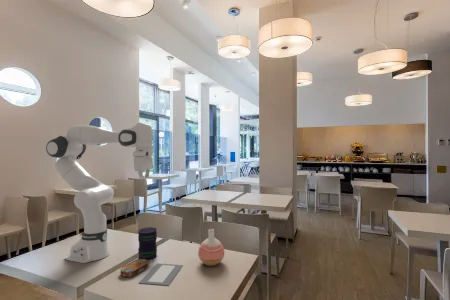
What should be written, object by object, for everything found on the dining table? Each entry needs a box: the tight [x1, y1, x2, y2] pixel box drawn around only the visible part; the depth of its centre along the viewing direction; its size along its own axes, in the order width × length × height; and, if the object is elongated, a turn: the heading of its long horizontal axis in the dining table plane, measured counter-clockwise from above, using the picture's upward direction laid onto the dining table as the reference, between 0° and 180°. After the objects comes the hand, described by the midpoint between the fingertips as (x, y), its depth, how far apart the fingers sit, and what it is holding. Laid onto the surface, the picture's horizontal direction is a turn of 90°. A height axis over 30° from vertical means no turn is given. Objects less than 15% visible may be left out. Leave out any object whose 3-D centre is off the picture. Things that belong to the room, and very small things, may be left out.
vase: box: [197, 228, 225, 267], centre depth 127 cm, size 14×14×18 cm
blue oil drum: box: [137, 226, 158, 261], centre depth 136 cm, size 10×10×15 cm
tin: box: [120, 258, 150, 278], centre depth 120 cm, size 15×3×8 cm
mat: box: [138, 262, 184, 287], centre depth 117 cm, size 14×19×1 cm
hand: (144, 178), depth 131 cm, fingers open, 8 cm apart
